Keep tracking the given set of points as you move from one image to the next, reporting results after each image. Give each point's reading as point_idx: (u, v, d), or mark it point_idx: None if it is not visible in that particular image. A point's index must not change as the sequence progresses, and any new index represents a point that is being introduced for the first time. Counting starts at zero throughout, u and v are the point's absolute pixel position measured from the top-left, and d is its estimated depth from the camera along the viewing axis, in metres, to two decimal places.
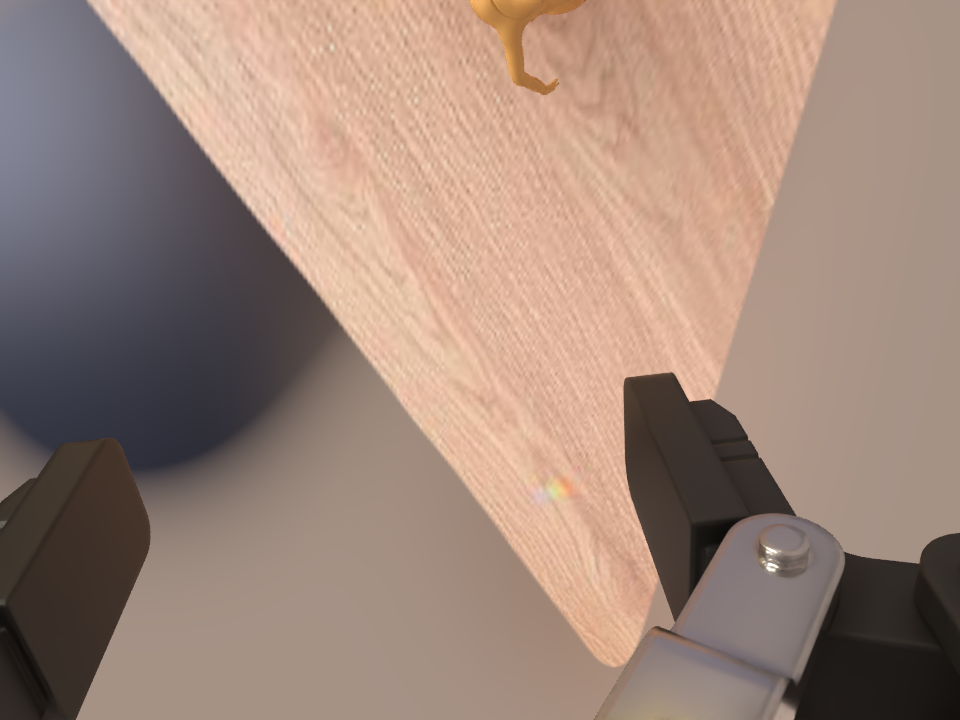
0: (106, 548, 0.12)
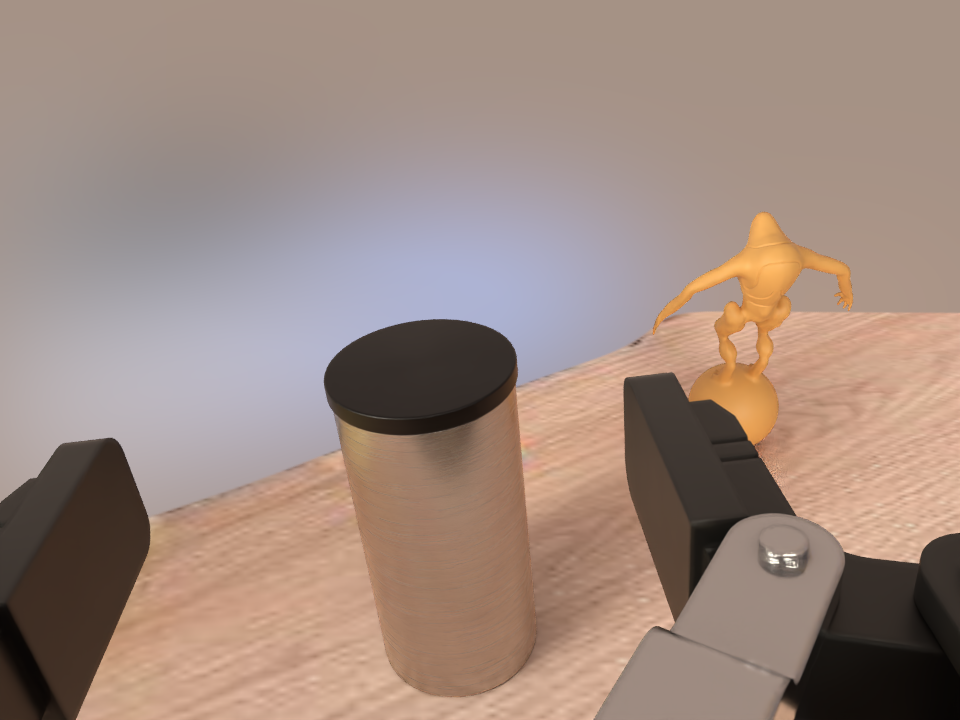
0: (106, 548, 0.12)
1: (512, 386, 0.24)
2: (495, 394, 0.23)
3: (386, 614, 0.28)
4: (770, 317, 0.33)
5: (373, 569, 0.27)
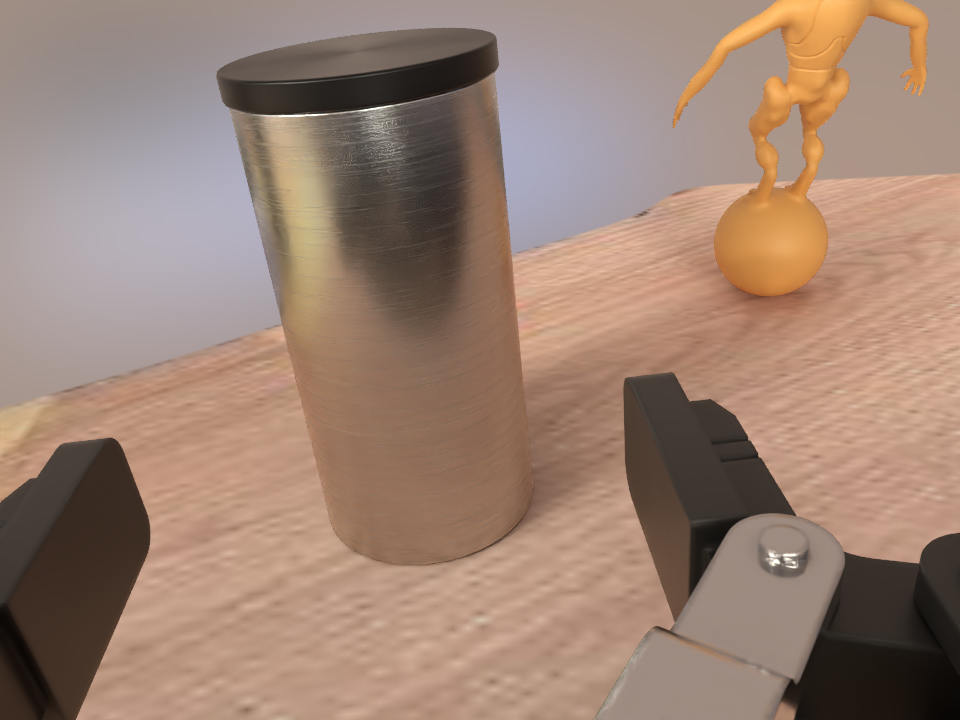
0: (106, 548, 0.12)
1: (491, 66, 0.16)
2: (464, 59, 0.16)
3: (323, 445, 0.20)
4: (824, 95, 0.26)
5: (301, 375, 0.19)
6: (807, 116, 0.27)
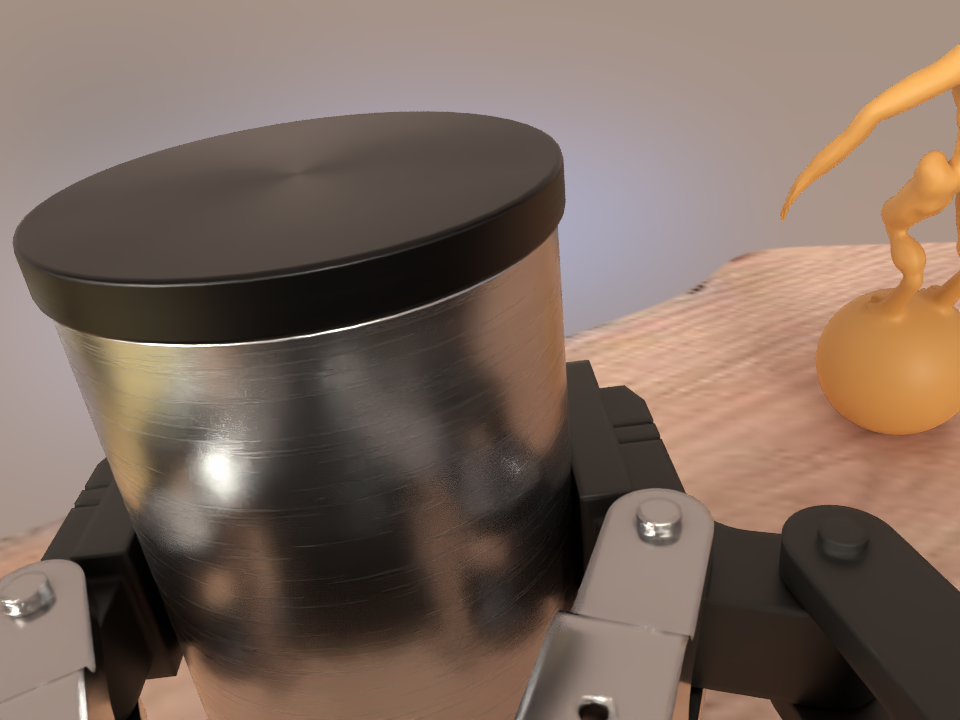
0: None
1: (555, 216, 0.08)
2: (507, 219, 0.07)
3: None
4: None
5: (208, 717, 0.11)
6: None
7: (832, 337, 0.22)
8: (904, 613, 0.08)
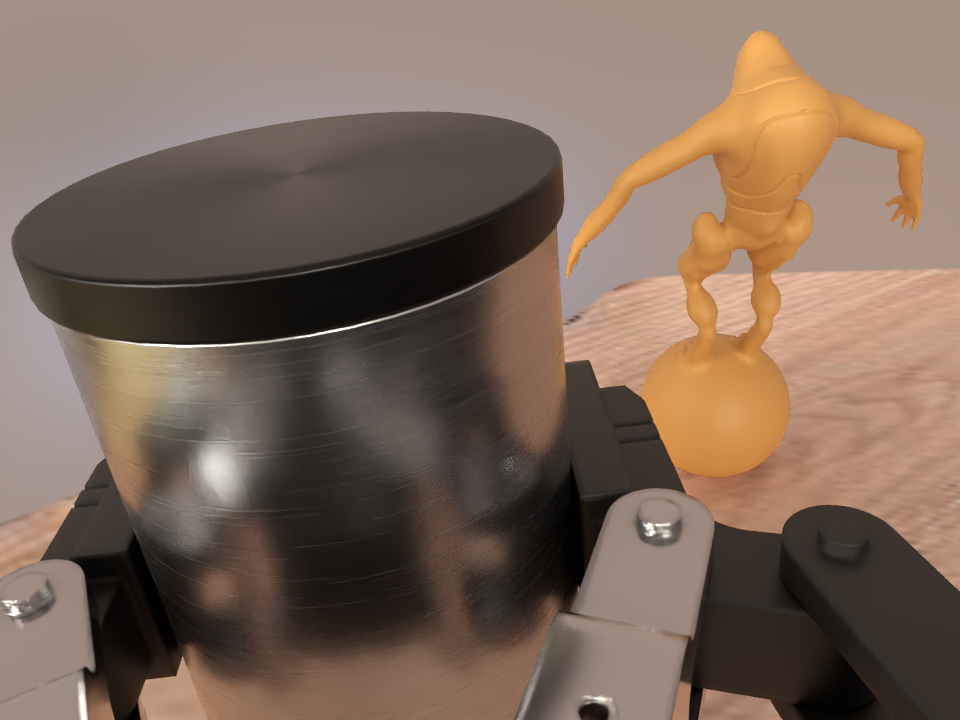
0: None
1: (554, 216, 0.08)
2: (505, 219, 0.07)
3: None
4: (776, 240, 0.18)
5: (208, 717, 0.11)
6: (755, 260, 0.19)
7: (649, 382, 0.23)
8: (904, 613, 0.08)
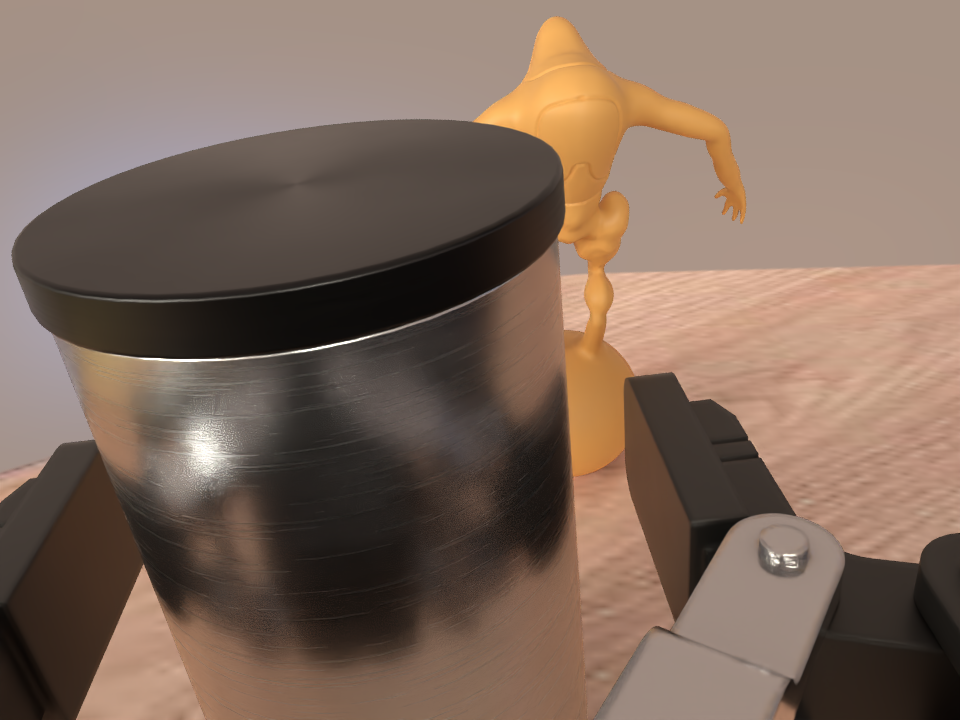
0: (106, 548, 0.12)
1: (555, 227, 0.08)
2: (507, 232, 0.07)
3: None
4: (590, 232, 0.18)
5: None
6: (580, 254, 0.19)
7: None
8: None
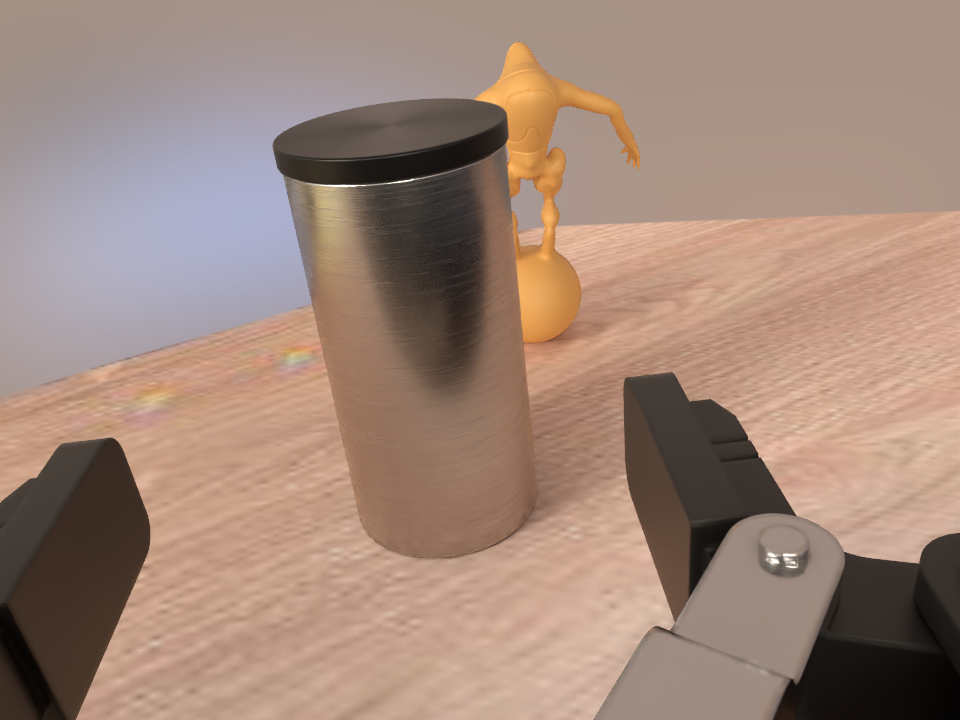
0: (106, 548, 0.12)
1: (502, 141, 0.20)
2: (481, 138, 0.19)
3: (357, 455, 0.23)
4: (541, 172, 0.29)
5: (339, 395, 0.22)
6: (537, 188, 0.30)
7: None
8: None
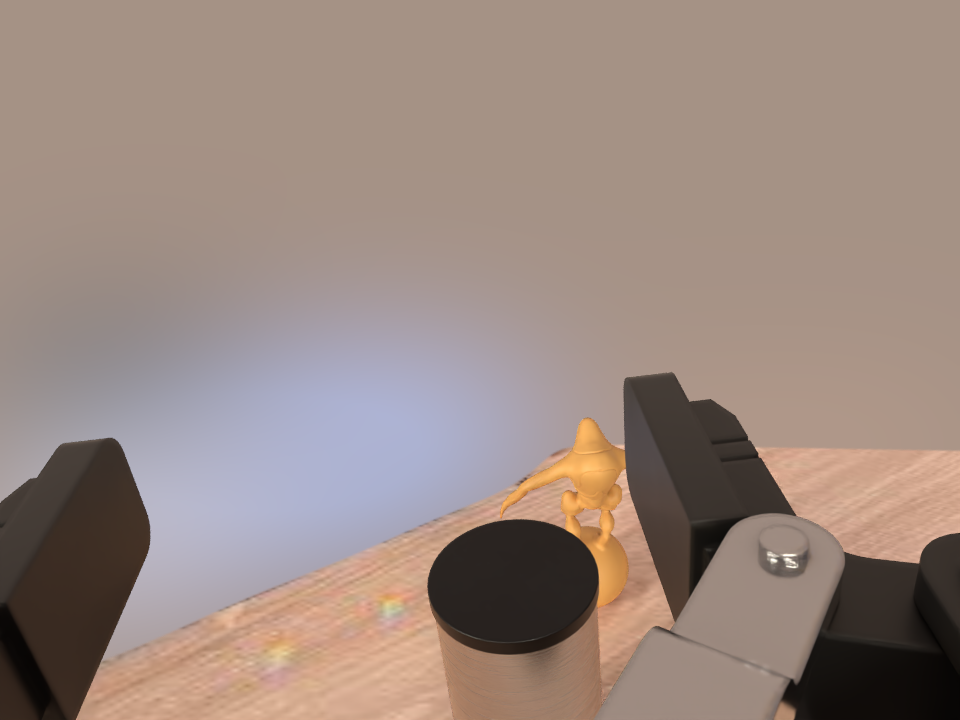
0: (106, 548, 0.12)
1: (597, 599, 0.27)
2: (584, 612, 0.26)
3: None
4: (603, 504, 0.37)
5: None
6: (597, 507, 0.38)
7: None
8: None
